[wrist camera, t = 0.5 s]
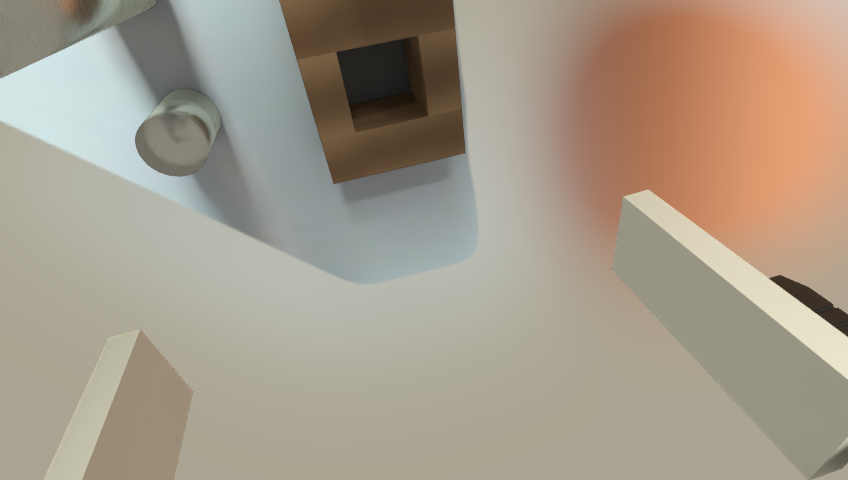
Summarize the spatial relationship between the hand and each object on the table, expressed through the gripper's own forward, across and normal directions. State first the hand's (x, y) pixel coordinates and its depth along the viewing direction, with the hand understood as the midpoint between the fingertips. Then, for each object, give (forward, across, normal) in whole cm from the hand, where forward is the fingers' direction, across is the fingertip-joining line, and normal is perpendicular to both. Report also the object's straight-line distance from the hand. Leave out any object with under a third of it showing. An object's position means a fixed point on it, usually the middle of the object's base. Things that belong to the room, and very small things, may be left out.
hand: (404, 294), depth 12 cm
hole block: (+26, +3, -1) cm, 26 cm away
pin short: (+26, -11, -1) cm, 28 cm away
